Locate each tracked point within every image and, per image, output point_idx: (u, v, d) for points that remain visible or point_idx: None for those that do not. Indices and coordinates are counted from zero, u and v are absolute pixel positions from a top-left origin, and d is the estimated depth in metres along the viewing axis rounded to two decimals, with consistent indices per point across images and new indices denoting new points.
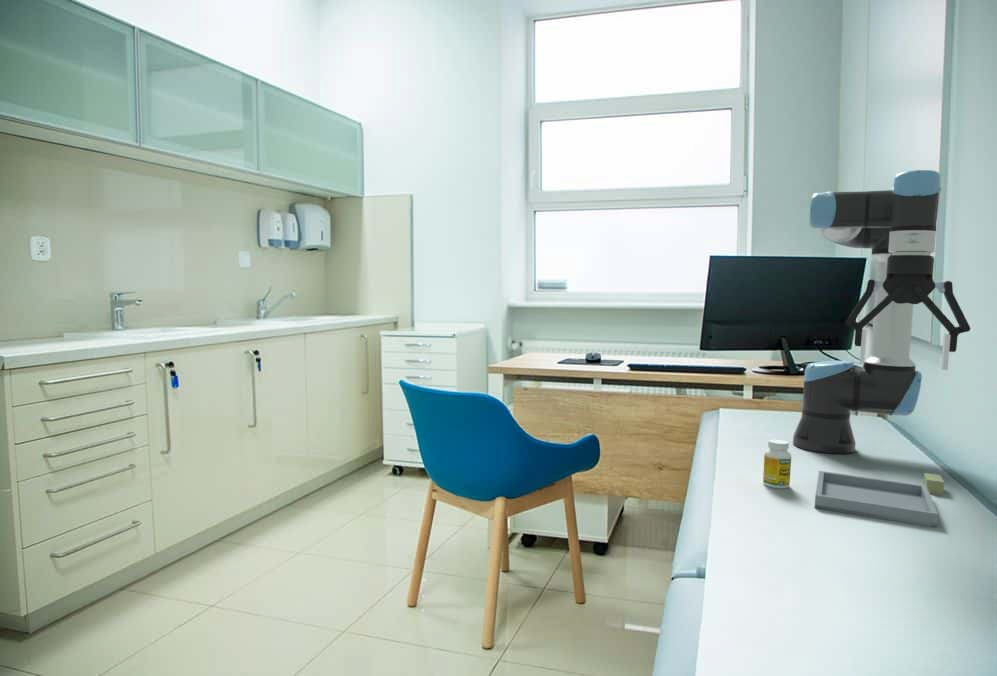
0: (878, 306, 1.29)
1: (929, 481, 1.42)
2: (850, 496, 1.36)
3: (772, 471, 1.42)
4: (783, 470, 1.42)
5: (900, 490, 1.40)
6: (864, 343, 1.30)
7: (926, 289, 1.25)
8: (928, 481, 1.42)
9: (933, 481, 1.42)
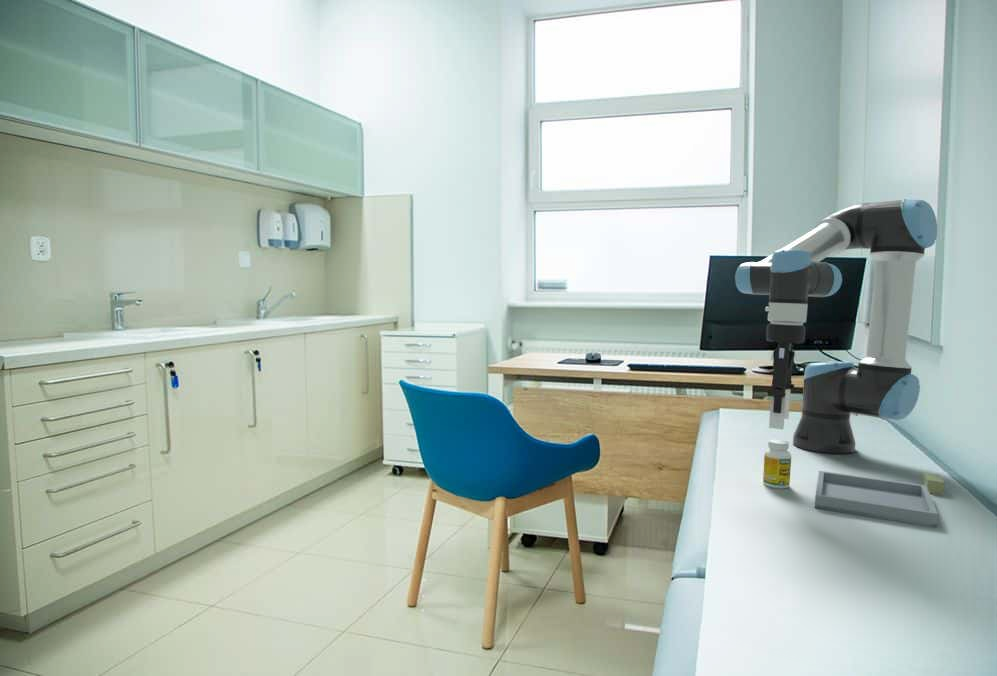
0: None
1: (930, 481, 1.42)
2: (850, 496, 1.36)
3: (772, 471, 1.42)
4: (783, 470, 1.42)
5: (900, 490, 1.40)
6: None
7: None
8: (929, 481, 1.42)
9: (934, 481, 1.41)
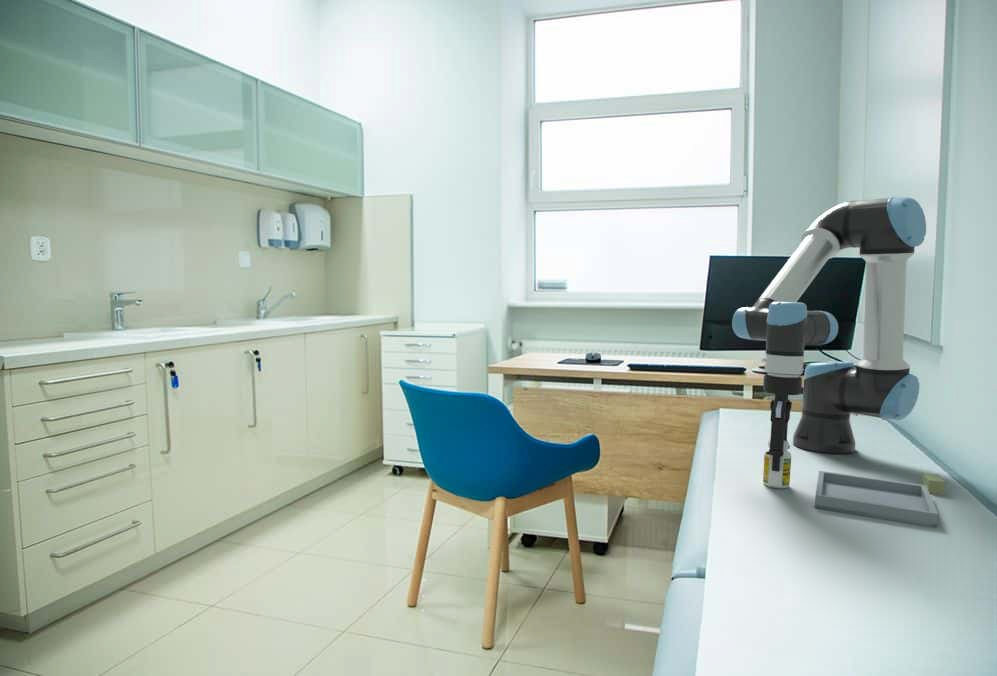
0: None
1: (931, 481, 1.42)
2: (850, 496, 1.36)
3: None
4: (783, 470, 1.42)
5: (900, 490, 1.40)
6: None
7: (774, 405, 1.41)
8: (930, 481, 1.42)
9: (935, 481, 1.41)
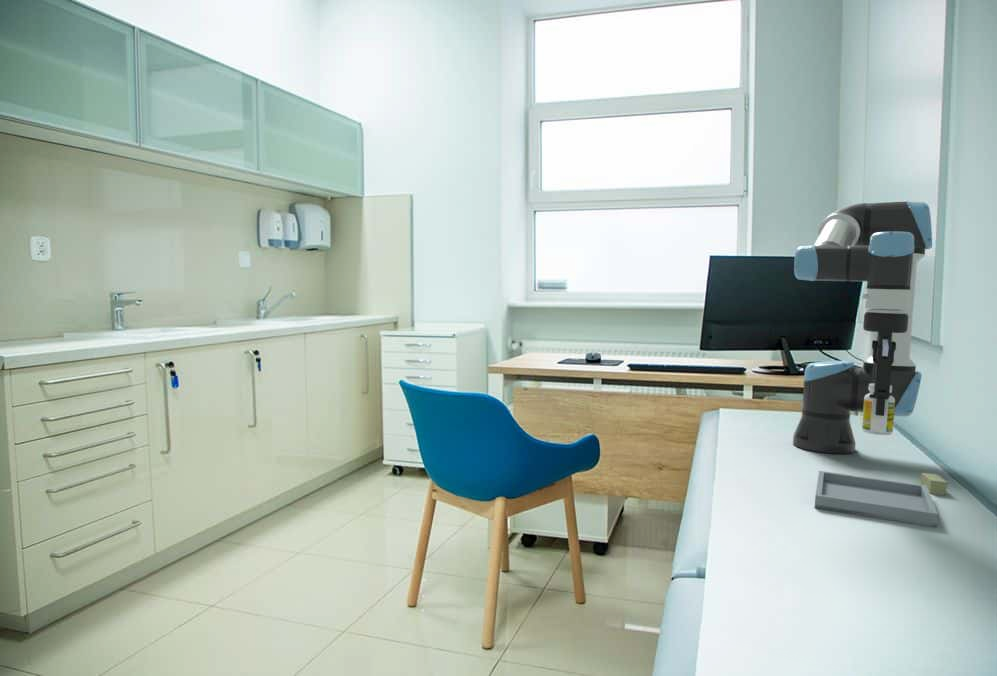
0: (874, 366, 1.35)
1: (933, 482, 1.41)
2: (850, 496, 1.36)
3: None
4: (887, 415, 1.30)
5: (900, 490, 1.40)
6: None
7: (878, 344, 1.30)
8: (932, 482, 1.41)
9: (937, 482, 1.41)
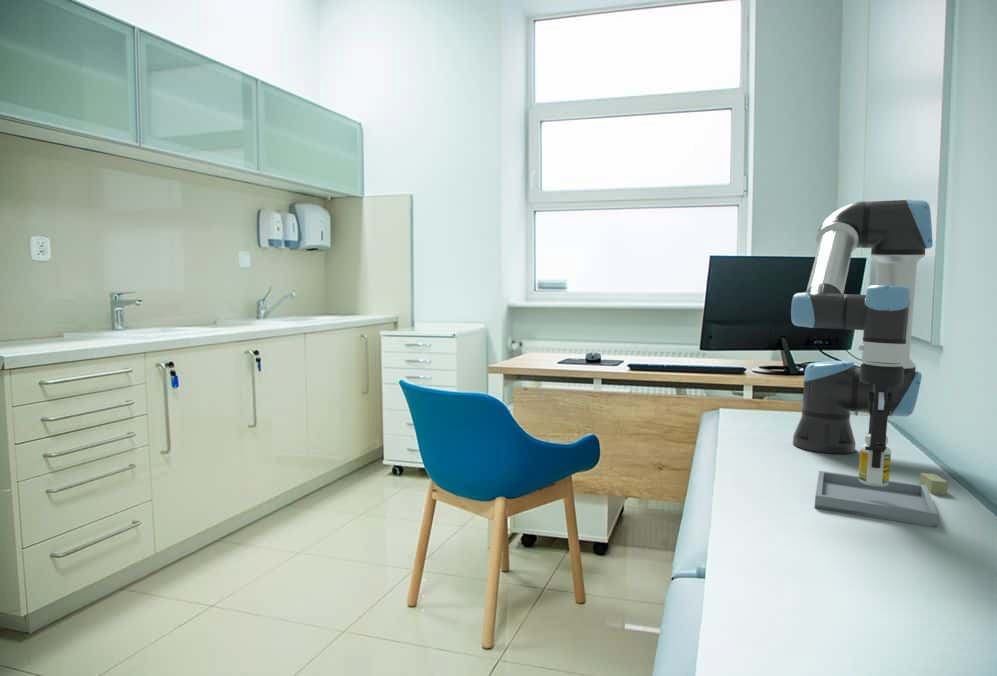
0: None
1: (934, 482, 1.41)
2: (850, 496, 1.36)
3: None
4: (883, 467, 1.31)
5: (900, 490, 1.40)
6: None
7: (874, 396, 1.31)
8: (933, 482, 1.41)
9: (937, 482, 1.41)
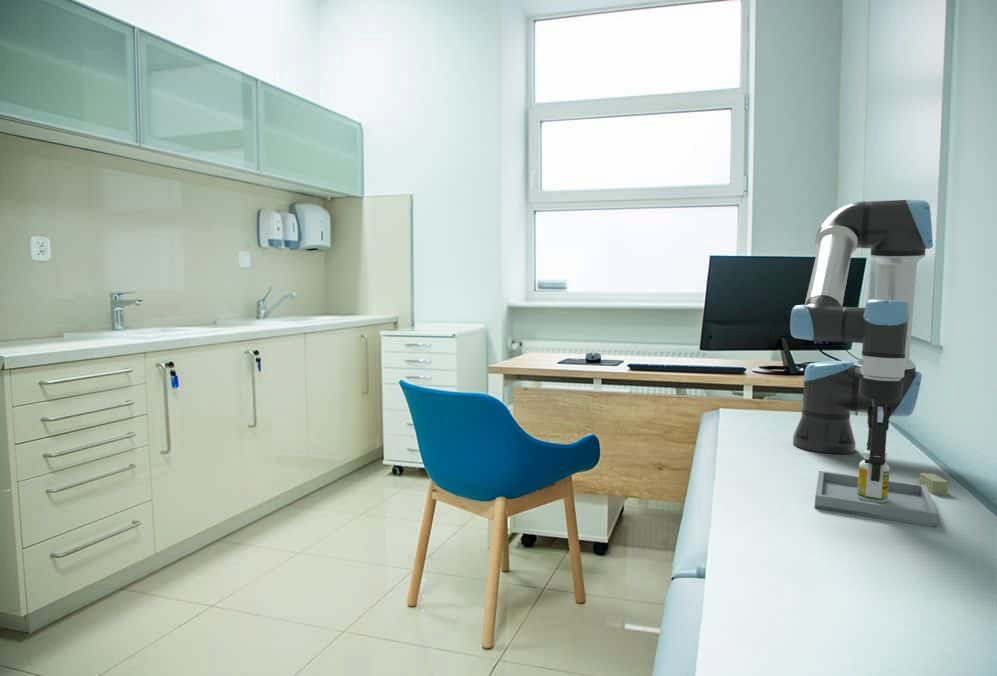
0: None
1: (935, 482, 1.41)
2: (850, 496, 1.36)
3: None
4: None
5: (900, 490, 1.40)
6: None
7: (873, 411, 1.31)
8: (934, 482, 1.41)
9: (938, 482, 1.41)
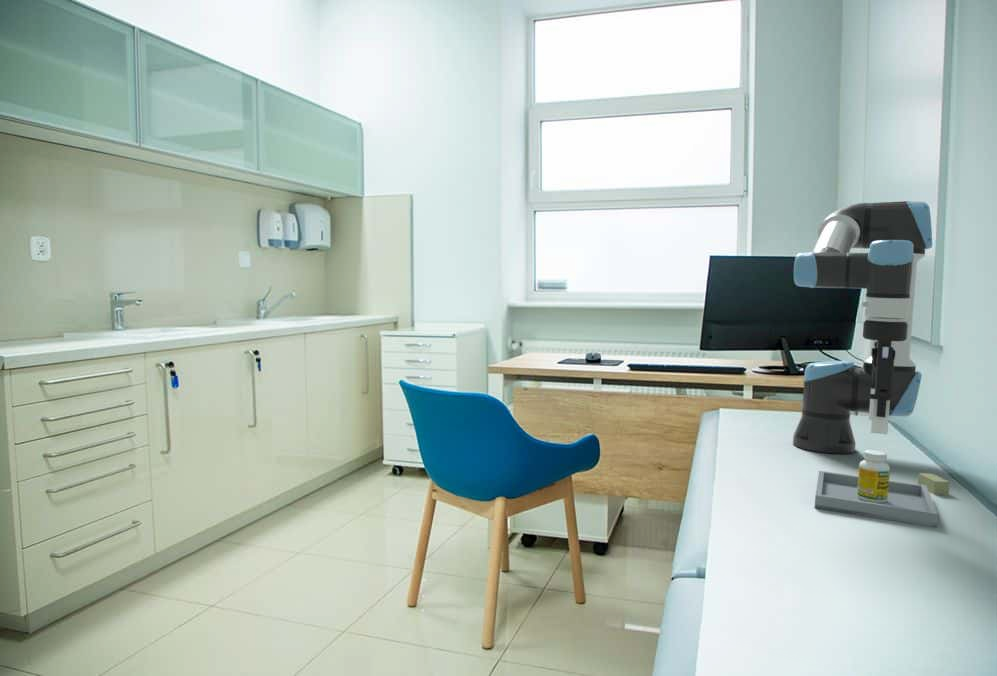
0: None
1: (936, 482, 1.41)
2: (850, 496, 1.36)
3: (869, 484, 1.32)
4: (881, 484, 1.32)
5: (900, 490, 1.40)
6: (870, 400, 1.40)
7: (877, 353, 1.30)
8: (935, 482, 1.41)
9: (940, 482, 1.41)
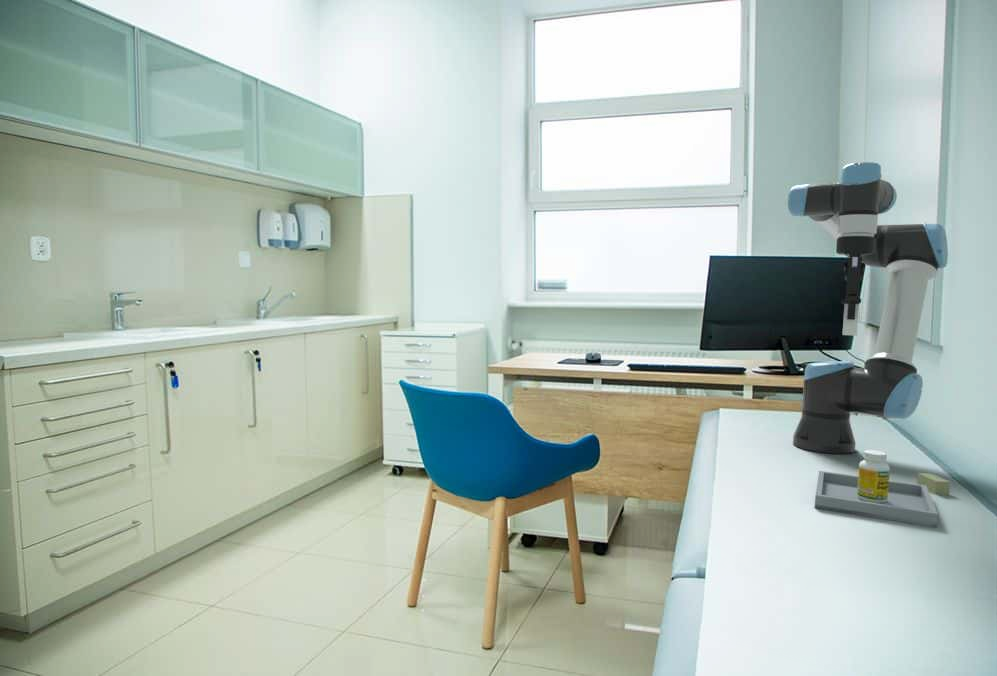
0: None
1: (938, 482, 1.41)
2: (850, 496, 1.36)
3: (869, 484, 1.32)
4: (881, 484, 1.32)
5: (900, 490, 1.40)
6: None
7: None
8: (937, 483, 1.41)
9: (941, 482, 1.41)
